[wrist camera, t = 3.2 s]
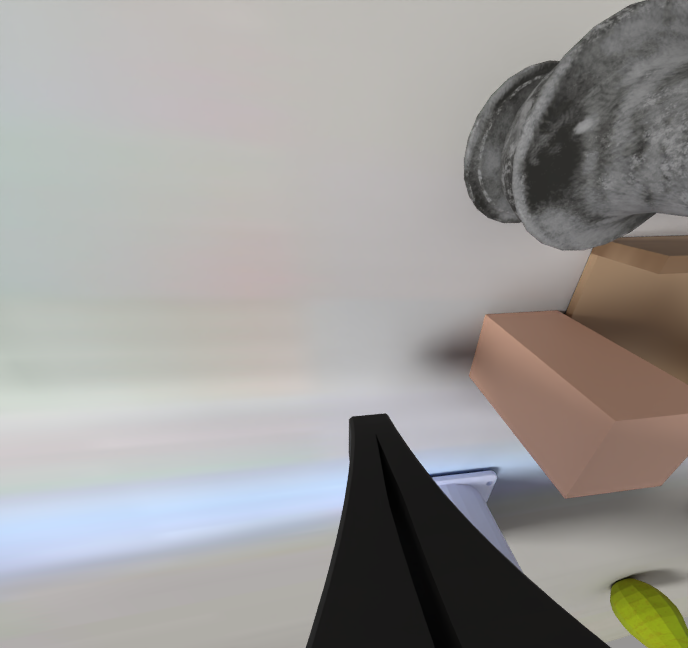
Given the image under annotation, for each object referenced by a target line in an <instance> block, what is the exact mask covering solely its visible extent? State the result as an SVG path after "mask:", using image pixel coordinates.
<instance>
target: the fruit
mask: <svg viewBox="0 0 688 648" xmlns="http://www.w3.org/2000/svg"><path fill="white" fill-rule="evenodd" d="M610 603H611V606H612V610H613V611H614V613H615V615H616V617H617V618H618V619H619V621H620V622H621V623H622V625H623V626H624V627H625V628H626V629H627V630H628V631H629V633H630V634H632V635H633V636H634V637H635V638H636V639H638V640H639V641H640V642H641V643H642V644H644V645H645V646H646V647H648V648H688V629H687V627H686V624H685V621H684V619H683V617H682V615H681V613H680V612H679V610H678V608H677V607H676V606H675V605H674V604H673V603H672V602H671V601H670V599H669V598H668V597H667V596H665V595H664V594H663V593H662V592H660V591H659V590H658V589H656V588H654V587H653V586H651V585H649V584H647V583H644V582H642V581H639V580H636V579H633V578H628V579H623V580H620V581H618V582H616V583H615V584H614V585H613V586H612V588H611V596H610Z"/></svg>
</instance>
